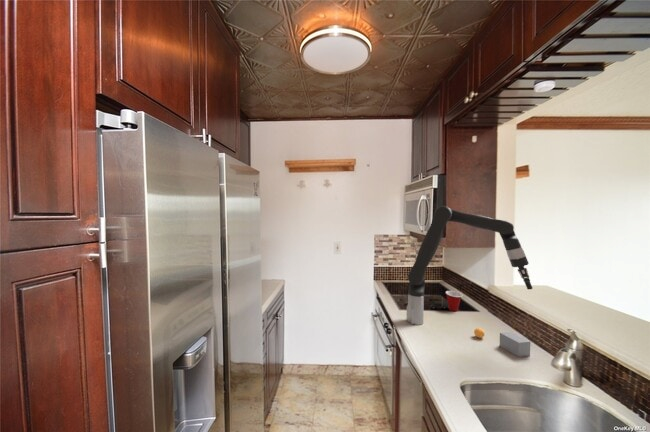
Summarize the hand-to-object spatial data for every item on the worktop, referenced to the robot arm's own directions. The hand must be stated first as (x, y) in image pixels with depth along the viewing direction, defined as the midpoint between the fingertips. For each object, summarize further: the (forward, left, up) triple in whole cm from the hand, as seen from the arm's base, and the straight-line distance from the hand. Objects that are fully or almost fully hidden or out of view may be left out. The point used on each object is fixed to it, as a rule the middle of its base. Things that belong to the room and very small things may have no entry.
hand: (529, 286), depth 138 cm
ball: (-19, +12, -28) cm, 36 cm away
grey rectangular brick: (-12, -3, -31) cm, 33 cm away
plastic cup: (-5, +51, -31) cm, 60 cm away
